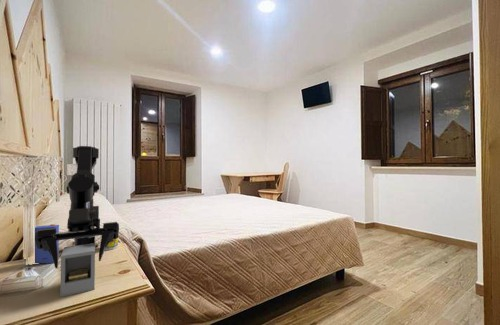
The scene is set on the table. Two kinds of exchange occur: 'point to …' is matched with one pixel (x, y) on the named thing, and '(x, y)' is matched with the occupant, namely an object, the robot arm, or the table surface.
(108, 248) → the supplement bottle
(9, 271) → the table surface
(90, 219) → the robot arm
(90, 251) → the grey hollow block
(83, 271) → the brass cube
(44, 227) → the walkman
